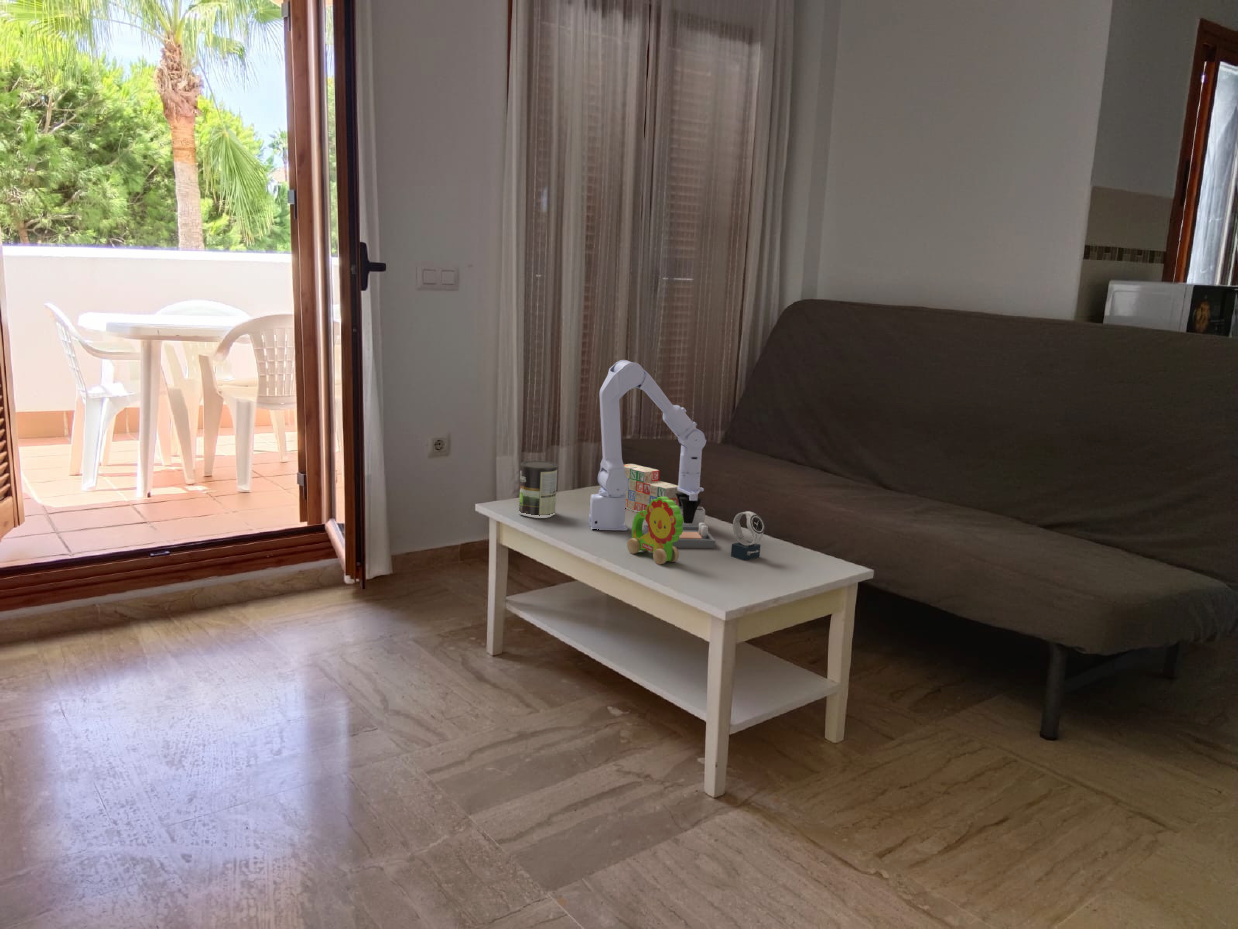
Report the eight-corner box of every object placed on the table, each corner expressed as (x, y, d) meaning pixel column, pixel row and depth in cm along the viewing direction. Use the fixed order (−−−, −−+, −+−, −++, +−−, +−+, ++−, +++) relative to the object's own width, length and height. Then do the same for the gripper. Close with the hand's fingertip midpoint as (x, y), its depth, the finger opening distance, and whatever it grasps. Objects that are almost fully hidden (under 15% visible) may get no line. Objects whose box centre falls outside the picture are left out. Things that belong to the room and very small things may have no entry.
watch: (750, 562, 217) (754, 517, 215) (725, 554, 222) (728, 510, 221) (766, 559, 220) (769, 514, 218) (740, 551, 226) (744, 507, 224)
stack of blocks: (679, 518, 257) (682, 475, 255) (663, 521, 253) (665, 477, 251) (629, 503, 273) (632, 462, 271) (613, 505, 269) (615, 464, 267)
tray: (651, 547, 225) (652, 530, 225) (643, 532, 239) (644, 517, 238) (714, 548, 227) (716, 531, 227) (703, 533, 241) (704, 518, 240)
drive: (671, 527, 246) (672, 508, 245) (668, 524, 250) (669, 505, 249) (703, 528, 247) (705, 509, 246) (700, 524, 251) (702, 506, 250)
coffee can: (519, 518, 247) (521, 467, 245) (517, 509, 257) (518, 460, 255) (557, 518, 249) (559, 467, 247) (553, 510, 259) (555, 461, 257)
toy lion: (625, 552, 220) (628, 490, 217) (642, 549, 224) (646, 488, 221) (668, 569, 208) (672, 503, 205) (686, 565, 211) (690, 501, 209)
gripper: (710, 477, 239) (706, 528, 242) (698, 467, 253) (695, 515, 256) (683, 476, 238) (680, 527, 241) (673, 466, 253) (670, 514, 255)
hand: (686, 521), depth 248 cm, fingers closed on drive, 4 cm apart
